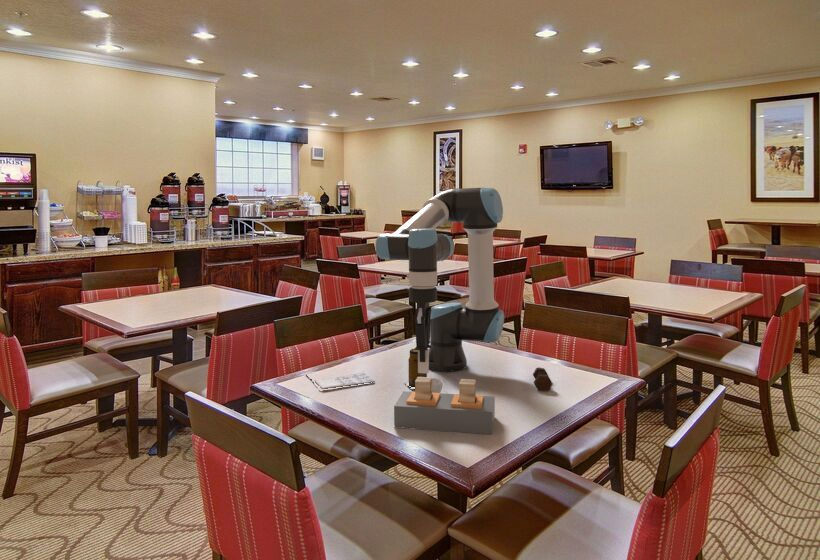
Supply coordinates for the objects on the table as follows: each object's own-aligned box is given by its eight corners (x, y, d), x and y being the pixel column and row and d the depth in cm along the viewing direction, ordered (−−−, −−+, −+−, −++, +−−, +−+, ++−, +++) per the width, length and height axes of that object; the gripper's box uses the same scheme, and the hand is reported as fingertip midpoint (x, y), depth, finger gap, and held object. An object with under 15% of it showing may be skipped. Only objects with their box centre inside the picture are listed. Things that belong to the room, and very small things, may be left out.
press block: (403, 411, 160) (403, 388, 159) (494, 417, 154) (494, 393, 154) (394, 427, 148) (394, 403, 147) (492, 434, 143) (492, 409, 142)
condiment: (423, 381, 187) (423, 346, 186) (433, 388, 179) (433, 352, 178) (403, 383, 185) (403, 348, 183) (412, 391, 177) (411, 354, 175)
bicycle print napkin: (320, 393, 177) (319, 387, 177) (305, 376, 195) (304, 370, 195) (375, 385, 185) (375, 379, 184) (356, 369, 203) (356, 363, 203)
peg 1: (418, 399, 154) (417, 376, 153) (432, 400, 153) (432, 377, 152) (415, 404, 150) (415, 381, 149) (429, 405, 149) (429, 382, 149)
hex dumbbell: (541, 382, 190) (545, 395, 176) (528, 374, 191) (531, 387, 176) (550, 368, 190) (555, 380, 175) (537, 360, 190) (541, 372, 175)
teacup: (415, 390, 178) (415, 376, 177) (446, 390, 178) (446, 376, 177) (414, 401, 168) (414, 386, 168) (447, 401, 168) (447, 386, 167)
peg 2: (460, 402, 152) (460, 379, 151) (475, 403, 151) (475, 379, 150) (459, 407, 148) (459, 383, 147) (474, 408, 147) (474, 384, 146)
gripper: (413, 283, 155) (414, 365, 158) (404, 290, 142) (405, 378, 145) (440, 283, 153) (440, 366, 156) (433, 290, 140) (433, 380, 143)
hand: (423, 372), depth 150 cm, fingers closed
